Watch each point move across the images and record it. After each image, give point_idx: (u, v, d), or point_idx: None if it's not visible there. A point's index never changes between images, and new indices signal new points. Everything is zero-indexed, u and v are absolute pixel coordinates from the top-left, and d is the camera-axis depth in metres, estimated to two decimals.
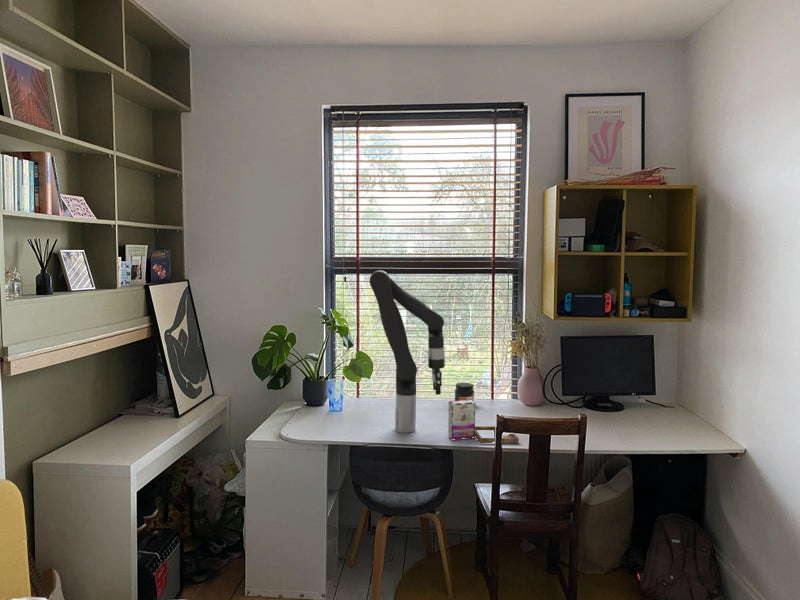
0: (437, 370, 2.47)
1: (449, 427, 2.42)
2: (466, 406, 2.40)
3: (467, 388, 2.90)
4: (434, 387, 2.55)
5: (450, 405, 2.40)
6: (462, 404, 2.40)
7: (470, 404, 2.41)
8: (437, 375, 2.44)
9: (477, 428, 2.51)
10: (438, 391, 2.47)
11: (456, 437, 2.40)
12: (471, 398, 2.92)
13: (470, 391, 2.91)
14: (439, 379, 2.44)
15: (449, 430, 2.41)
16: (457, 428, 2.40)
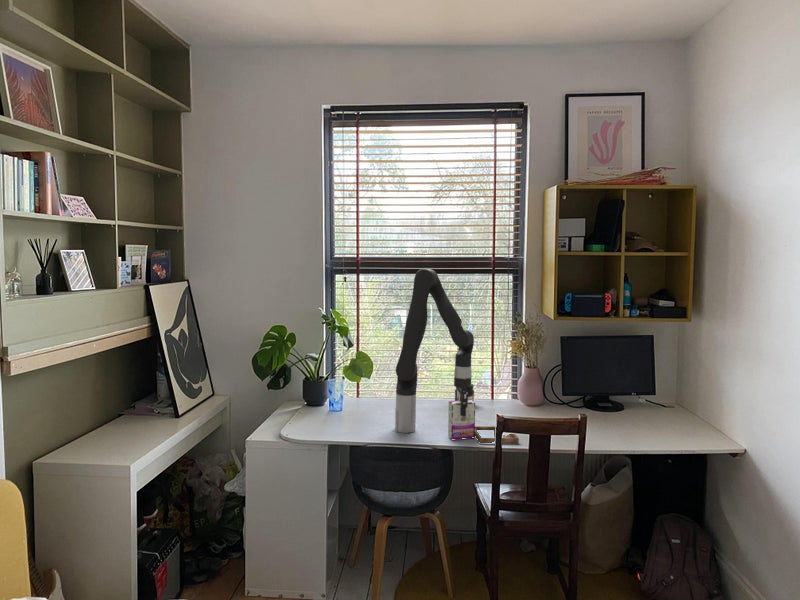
0: (463, 389, 2.38)
1: (449, 427, 2.42)
2: None
3: (467, 388, 2.90)
4: None
5: (450, 405, 2.40)
6: None
7: (470, 404, 2.41)
8: (463, 397, 2.35)
9: (477, 428, 2.51)
10: (463, 412, 2.39)
11: (456, 437, 2.40)
12: (471, 398, 2.92)
13: (470, 391, 2.91)
14: (465, 401, 2.36)
15: (449, 430, 2.41)
16: (457, 428, 2.40)
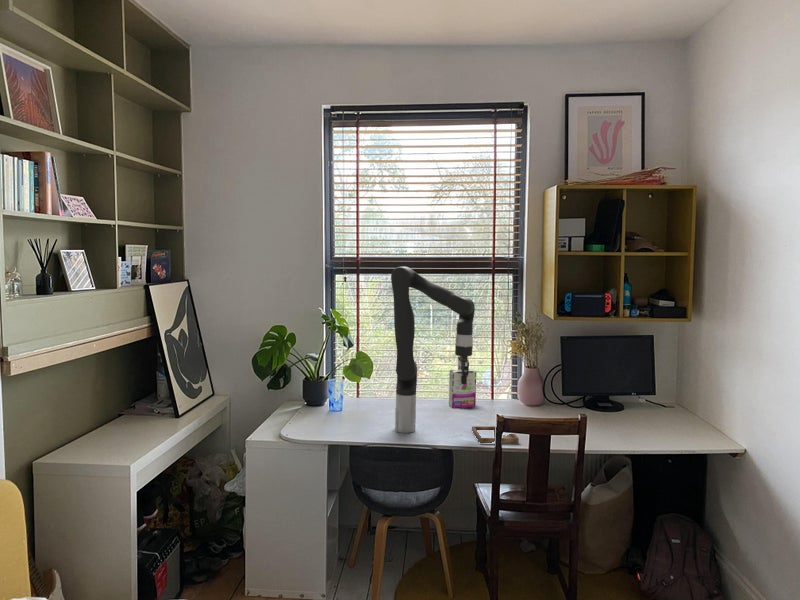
0: (465, 358, 2.37)
1: (450, 396, 2.41)
2: None
3: None
4: None
5: (451, 373, 2.39)
6: None
7: (471, 373, 2.40)
8: (464, 365, 2.34)
9: (477, 428, 2.51)
10: None
11: (457, 406, 2.39)
12: None
13: None
14: (466, 369, 2.35)
15: (450, 399, 2.40)
16: (458, 397, 2.39)
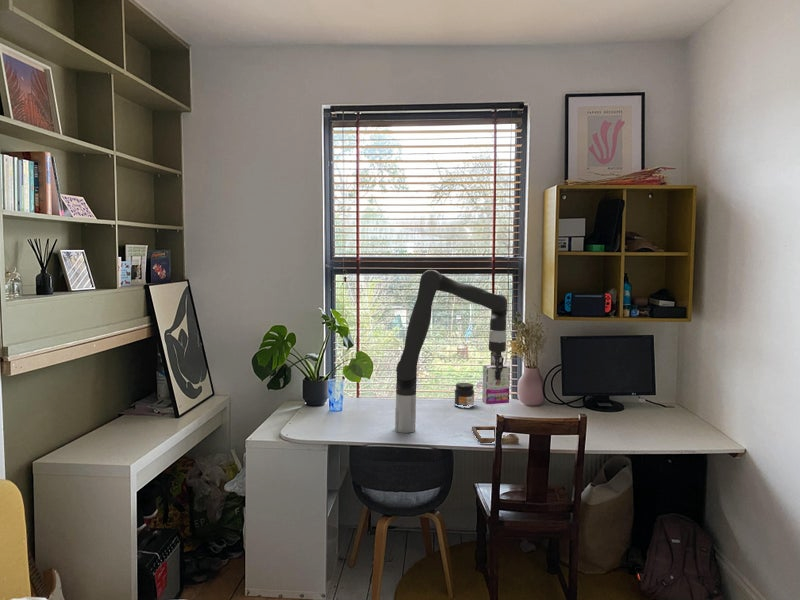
0: (499, 353, 2.38)
1: (483, 391, 2.42)
2: None
3: (467, 388, 2.90)
4: None
5: (485, 369, 2.40)
6: None
7: (505, 368, 2.41)
8: (499, 360, 2.35)
9: (477, 428, 2.51)
10: (498, 376, 2.39)
11: (491, 401, 2.40)
12: (471, 398, 2.92)
13: (470, 391, 2.91)
14: (501, 364, 2.36)
15: (484, 394, 2.41)
16: (492, 392, 2.40)
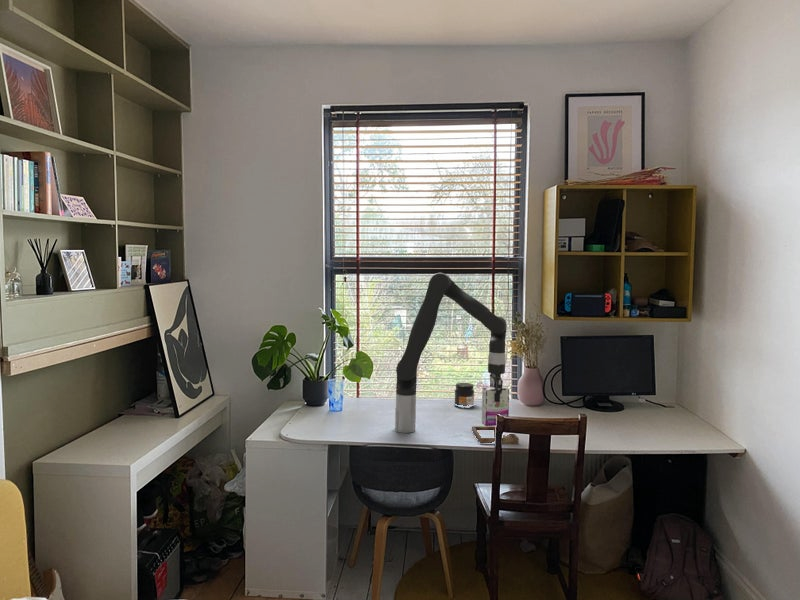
0: (498, 375, 2.39)
1: (483, 413, 2.43)
2: None
3: (467, 388, 2.90)
4: None
5: (484, 391, 2.41)
6: None
7: (504, 390, 2.41)
8: (498, 383, 2.36)
9: (477, 428, 2.51)
10: None
11: (490, 423, 2.41)
12: (471, 398, 2.92)
13: (470, 391, 2.91)
14: (500, 387, 2.36)
15: (483, 416, 2.42)
16: (491, 414, 2.40)
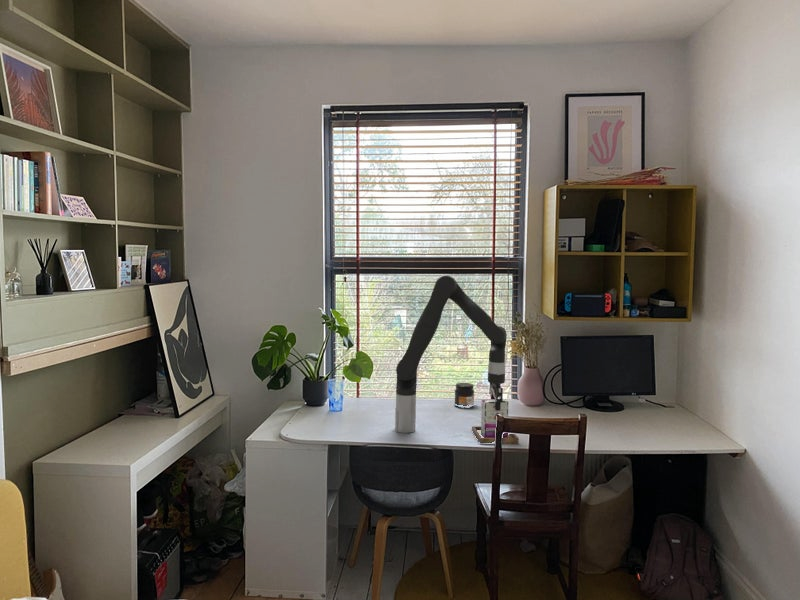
0: (498, 385, 2.39)
1: (482, 425, 2.43)
2: None
3: (467, 388, 2.90)
4: None
5: (483, 403, 2.42)
6: None
7: (503, 403, 2.42)
8: (498, 390, 2.36)
9: (477, 428, 2.51)
10: (498, 407, 2.39)
11: (489, 435, 2.41)
12: (471, 398, 2.92)
13: (470, 391, 2.91)
14: (500, 395, 2.36)
15: (482, 429, 2.43)
16: (490, 426, 2.41)
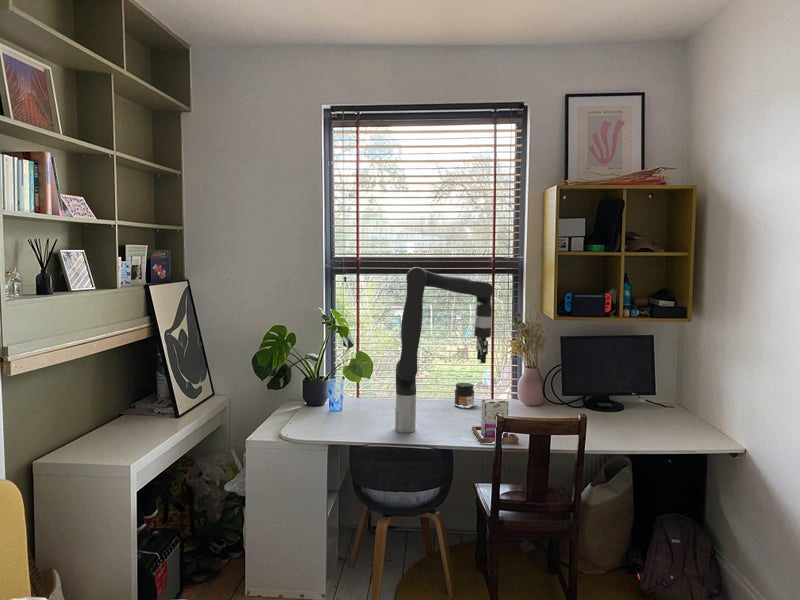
0: (483, 339, 2.46)
1: (482, 425, 2.43)
2: (499, 404, 2.41)
3: (467, 388, 2.90)
4: (478, 357, 2.54)
5: (483, 403, 2.42)
6: (495, 403, 2.41)
7: (503, 403, 2.42)
8: (484, 343, 2.43)
9: (477, 428, 2.51)
10: (483, 360, 2.45)
11: (489, 435, 2.41)
12: (471, 398, 2.92)
13: (470, 391, 2.91)
14: (485, 347, 2.43)
15: (482, 429, 2.43)
16: (490, 426, 2.41)
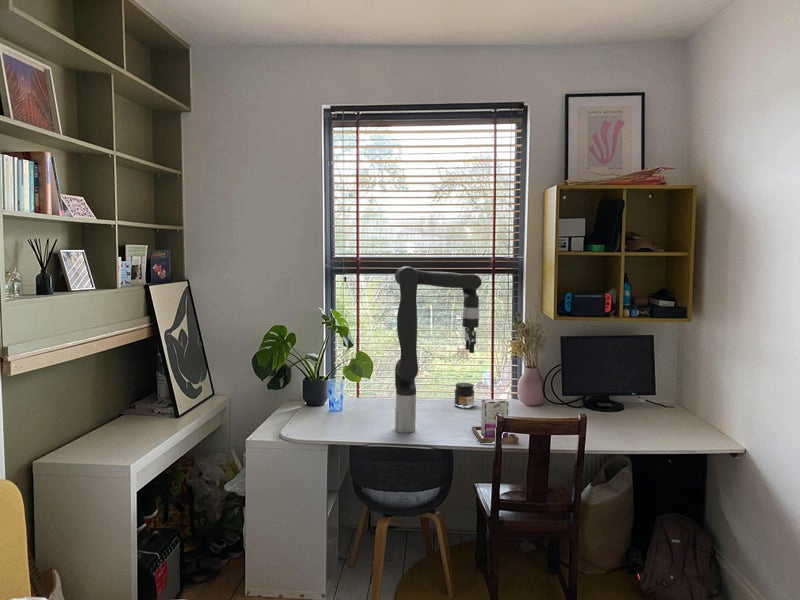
0: (471, 329, 2.52)
1: (482, 425, 2.43)
2: (499, 404, 2.41)
3: (467, 388, 2.90)
4: (467, 347, 2.61)
5: (483, 403, 2.42)
6: (495, 403, 2.41)
7: (503, 403, 2.42)
8: (472, 333, 2.49)
9: (477, 428, 2.51)
10: None
11: (489, 435, 2.41)
12: (471, 398, 2.92)
13: (470, 391, 2.91)
14: (473, 337, 2.50)
15: (482, 429, 2.43)
16: (490, 426, 2.41)
